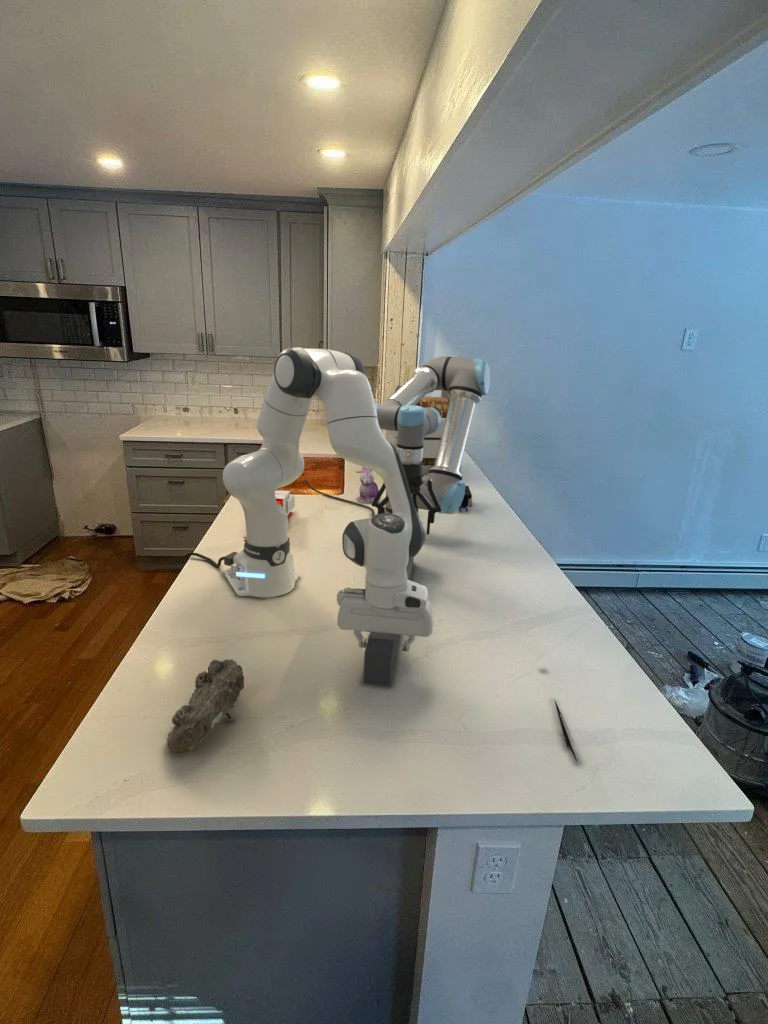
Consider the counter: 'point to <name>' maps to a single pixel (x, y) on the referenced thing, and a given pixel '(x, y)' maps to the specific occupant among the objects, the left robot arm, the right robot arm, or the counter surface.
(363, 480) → the figurine
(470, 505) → the figurine character
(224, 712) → the fossil
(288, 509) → the toy
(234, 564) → the left robot arm
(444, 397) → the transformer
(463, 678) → the counter surface
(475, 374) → the right robot arm
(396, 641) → the post
